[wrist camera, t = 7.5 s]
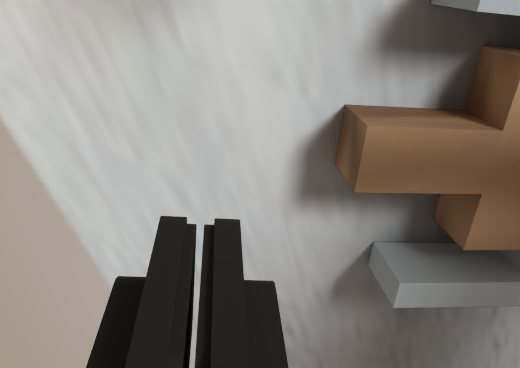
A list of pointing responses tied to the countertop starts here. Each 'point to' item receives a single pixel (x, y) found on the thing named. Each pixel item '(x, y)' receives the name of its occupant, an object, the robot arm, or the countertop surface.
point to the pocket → (449, 249)
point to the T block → (448, 154)
